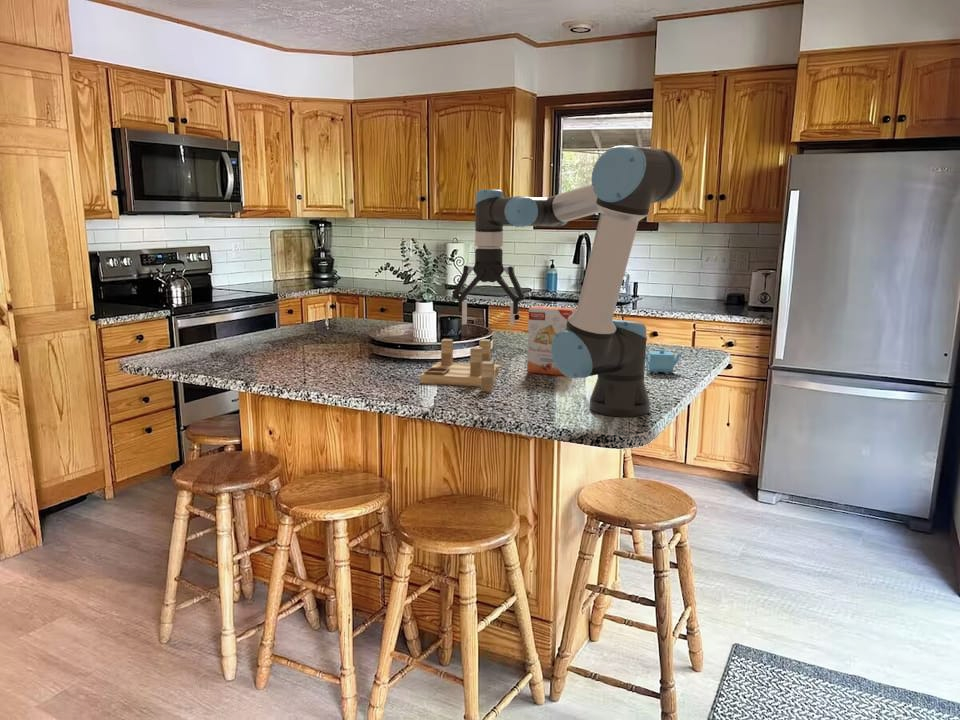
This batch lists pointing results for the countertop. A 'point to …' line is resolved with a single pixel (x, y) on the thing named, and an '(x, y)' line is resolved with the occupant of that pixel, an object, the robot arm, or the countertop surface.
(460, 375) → the seat
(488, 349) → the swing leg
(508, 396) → the countertop surface
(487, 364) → the loose leg
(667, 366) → the teapot
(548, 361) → the cracker box
